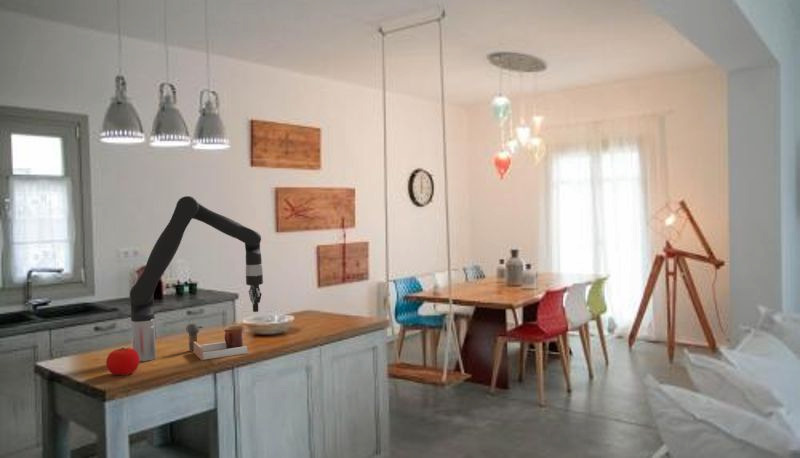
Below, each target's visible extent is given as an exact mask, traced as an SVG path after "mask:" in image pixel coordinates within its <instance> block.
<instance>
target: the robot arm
mask: <svg viewBox="0 0 800 458" xmlns="http://www.w3.org/2000/svg"><path fill="white" fill-rule="evenodd" d="M175 205H176V206H175V208H174V210H173V213H172V215H171V217H170V220H169V222H168V223H167V225H166V226H165V228H164V229H163V230H162V232H161V234H160V235H159V237H158V239H157V240H156V242H155V243H154V246H153V247H152V248H151V249H152V250H151V252H150V253H149V256H148V259H147V262H146V264H145V267H144V269H143V271H142V274H141V275H140V277H139V278H138V279H137V280H136V282H135V284H134V285H133V286H132V287H131V289H130V292H129V299H130V320H131V321H130V322H131V323H130V324H131V339H130V340H131V349H134V350H136V351H137V353H138V355H139V359H140V362H149V361H152V360H154V359H156V358H157V351H156V326H155V325H156V323H155V298H154V294H155V290H156V288H157V286H158V283H159V281H160V279H161V277H162V275H163V274H164V273H165V272H166V270H167V269H168V267H169V266H170V263H171V262H172V261H173V259H174V257H175V255H176V253H177V252H178V249H179V247H180V244H181V242H182V239H183V236H184V234H185V231H186V229H187V227H188V226H189V224H190V222H191V221H192V220H196V221H199V222H202V223H203V224H206V225H208V226H210V227H212V228H214V229H215V230H217V231H218V232H221V233H223V234H225V235H227V236H229V237H230V238H234V239H236V240H239V242H240V241H241V242H242V243H244V247H245V248H244V249H245V285H246V286H249V290H248V294H249V299H250V303H251V304H252V312H253V313H258V312H259V304H260V302H261V299H262V292H261V288H260V285H263V283H264V279H263V278H264V277H263V275H264V274H263V265H262V263H263V262H262V261H263V260H262V254H261V241H262V236H261V234H260V233H259V232H258V231H256V230H254V229H251V228H249V227H247V226H244V225H243V224H241V223H239V222H237V221H235V220H233V219H231V218H229V217H227V216H224V215H222V214H219V213H218V212H215V211H212V209H211V210H210V209H208V208H207V207H206V206H203V204H201V203H199V201H197V200H196V198H194V197H193V196H189V195H185V196H182V197H181V198H179V199H178V201H177V203H176V204H175ZM148 360H149V361H148Z"/></svg>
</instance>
